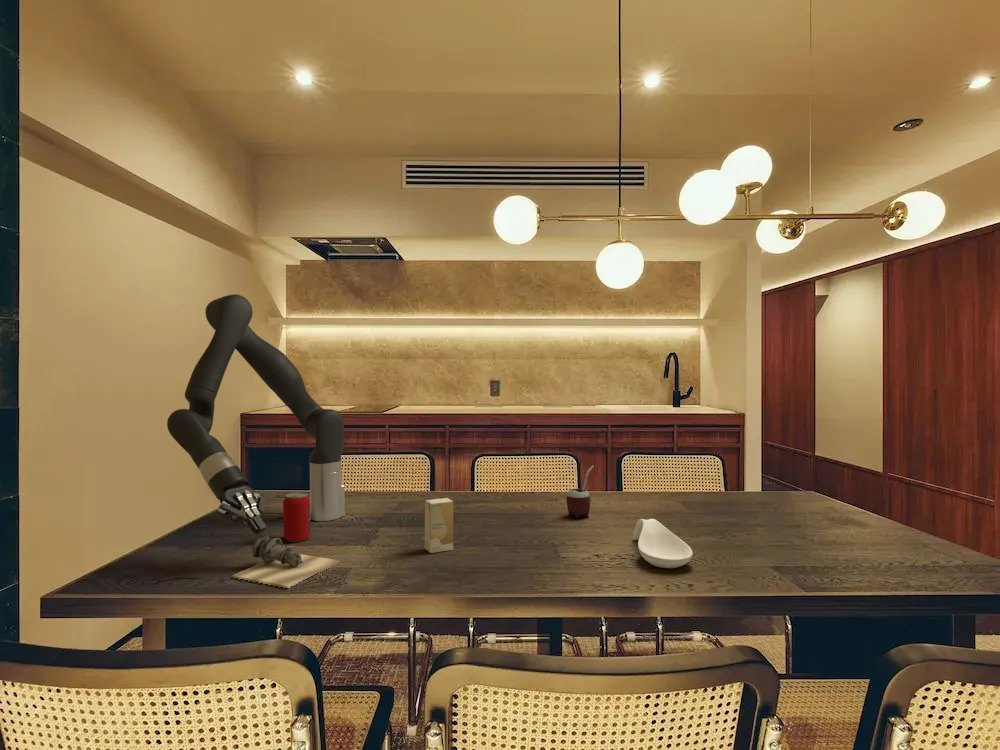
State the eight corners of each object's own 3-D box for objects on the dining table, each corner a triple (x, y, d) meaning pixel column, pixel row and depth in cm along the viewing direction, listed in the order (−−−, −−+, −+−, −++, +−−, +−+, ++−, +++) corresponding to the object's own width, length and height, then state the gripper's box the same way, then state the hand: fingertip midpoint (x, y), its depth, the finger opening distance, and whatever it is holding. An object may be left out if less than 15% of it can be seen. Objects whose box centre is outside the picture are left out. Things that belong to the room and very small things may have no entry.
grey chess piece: (249, 562, 123) (292, 580, 119) (252, 539, 122) (294, 556, 118) (269, 552, 129) (309, 568, 125) (271, 529, 128) (312, 545, 124)
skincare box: (430, 554, 131) (429, 503, 131) (424, 548, 135) (423, 500, 135) (454, 549, 134) (453, 500, 134) (448, 544, 138) (447, 497, 138)
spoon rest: (701, 573, 117) (701, 540, 116) (648, 575, 116) (647, 542, 116) (662, 539, 140) (662, 511, 140) (618, 541, 140) (617, 513, 139)
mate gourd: (564, 519, 160) (563, 468, 160) (570, 512, 167) (570, 464, 167) (588, 521, 157) (588, 469, 157) (594, 514, 164) (594, 465, 164)
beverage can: (316, 536, 146) (315, 492, 146) (299, 544, 140) (298, 498, 140) (295, 534, 149) (294, 491, 148) (278, 542, 142) (277, 496, 142)
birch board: (232, 578, 118) (232, 575, 117) (288, 554, 132) (288, 552, 132) (287, 589, 111) (287, 586, 111) (340, 563, 126) (340, 560, 126)
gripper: (205, 470, 122) (245, 529, 117) (253, 460, 134) (291, 514, 130) (190, 491, 125) (228, 550, 120) (238, 480, 137) (275, 533, 132)
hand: (261, 531), depth 125 cm, fingers closed
